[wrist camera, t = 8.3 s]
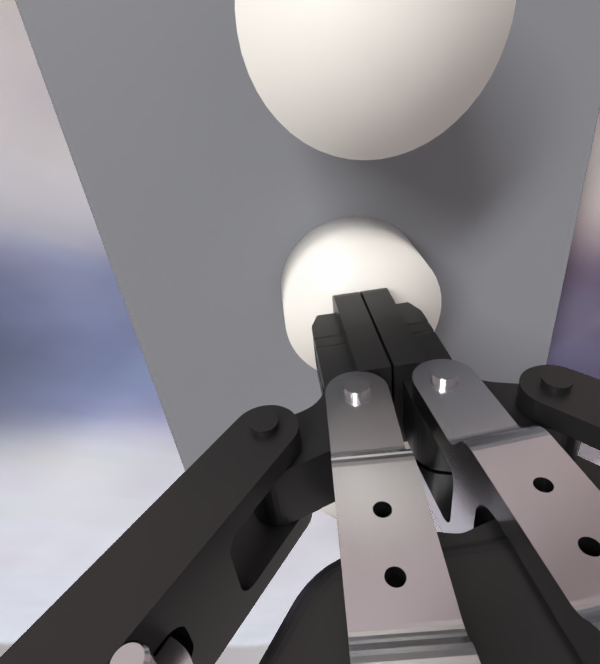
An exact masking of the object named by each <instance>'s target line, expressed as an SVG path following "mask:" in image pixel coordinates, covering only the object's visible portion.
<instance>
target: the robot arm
mask: <svg viewBox="0 0 600 664" xmlns="http://www.w3.org/2000/svg"><path fill="white" fill-rule="evenodd" d="M332 301H333V313H331V314H324V315H317V316H316V319H315V321H314V323H313V325H312V335H313V343H314V351H315V360H316V368H317V374H318V379H319V383H320V389H321V393H322V396H321V398H320V399H319V400H318V401H317V402H316V403H315V404H314V405H313V406H311V407H309V408H308V409H306V410H304V411H301V412H299V413H296V414H294V413H293V412H292V411H291V410H289V409H287V408H285V407H282V406H278V405H264V406H259V407H256V408H253V409H251V410H249V411H247V412H245V413H244V414H242V415H241V416H240V417H239V418H238V419H237V420H236V421H235V422H234V423H233V424H232V425H231V426H230V427H229V428H228V429H227V430H226V431H225V432H224V433H223V434H222V435H221V436H220V437H219V438H218V439H217V440H216V441H215V442H214V443H213V444H212V445H211V446H210V447H209V448H208V449H207V450H206V451H205V452H204V453H203V454H202V455H201V456H200V457H199V458H198V459H197V460H196V461H195V462H194V463H193V464H192V465H191V466H190V467H189V468H188V469H187V470H186V471H185V472H184V473H183V474H182V475H181V476H180V477H179V478H178V479H177V480H176V481H175V482H174V483H173V484H172V485H171V486H170V487H169V488H168V489H167V490H166V491H165V492H164V493H163V494H162V495H161V496H160V497H159V498H158V499H157V500H156V501H155V502H154V503H153V504H152V505H151V506H150V507H149V508H148V509H147V510H146V511H145V512H144V513H143V514H142V515H141V516H140V517H139V518H138V519H137V520H136V521H135V522H134V523H133V524H132V525H131V526H130V527H129V528H128V529H127V530H126V531H125V532H124V533H123V534H122V536H121V537H120V538H119V539H118V540H117V541H116V542H115V543H114V544H113V545H112V546H111V547H110V548H109V549H108V550H107V551H106V552H105V553H104V554H103V555H102V556H101V557H100V558H99V559H98V560H97V561H96V562H95V563H94V564H93V565H92V566H91V567H90V568H89V569H88V570H87V571H86V572H85V573H84V574H83V575H82V576H81V577H80V578H79V579H78V580H77V581H76V582H75V583H74V584H73V585H72V586H71V587H70V588H69V589H68V590H67V591H66V592H65V593H64V594H63V595H62V596H61V597H60V598H59V599H58V600H57V601H56V602H55V603H54V604H53V605H52V606H51V607H50V608H49V609H48V610H47V611H46V612H45V613H44V614H43V615H42V616H41V617H40V618H39V619H38V620H37V621H36V622H35V623H34V624H33V625H32V626H31V627H30V628H29V629H28V630H27V631H26V632H25V633H24V634H23V635H22V636H21V637H20V638H19V639H18V640H17V641H16V642H15V643H14V644H13V645H12V646H11V647H10V648H9V649H8V650H7V651H6V652H5V653H4V654H3V655H2V656H1V657H0V664H215V662H216V661H217V660H218V658H219V657H220V655H221V653H222V652H223V651H224V649H225V648H226V646H227V645H228V643H229V642H230V640H231V639H232V637H233V636H234V634H235V633H236V631H237V630H238V628H239V627H240V625H241V624H242V623H243V621H244V620H245V618H246V617H247V615H248V614H249V612H250V611H251V609H252V608H253V606H254V605H255V603H256V602H257V600H258V599H259V597H260V596H261V594H262V593H263V591H264V590H265V588H266V587H267V585H268V584H269V582H270V581H271V579H272V578H273V577H274V575H275V574H276V572H277V571H278V569H279V568H280V566H281V565H282V563H283V562H284V560H285V559H286V557H287V556H288V554H289V553H290V551H291V550H292V548H293V547H294V545H295V544H296V542H297V541H298V539H299V538H300V536H301V535H302V533H303V532H304V531H305V529H306V528H307V526H308V524H309V523H310V520H311V517H312V513H313V512H315V511H317V510H319V509H321V508H323V507H325V506H327V505H329V504H331V503H333V502H335V504H336V515H337V525H338V536H339V546H340V557H341V558H340V559H338V560H337V561H335V562H333V563H332V564H330V565H328V566H327V567H325V568H324V569H323V570H322V571H320V572H319V573H318V574H317V575H315V576H314V578H313V579H312V580H311V581H310V582H309V583H308V584H307V585H306V586H305V587H304V589H303V590H302V591H301V592H300V594H299V595H298V596H297V598H296V600H295V601H294V603H293V605H292V606H291V608H290V610H289V612H288V613H287V615H286V617H285V619H284V620H283V622H282V624H281V626H280V628H279V629H278V631H277V633H276V635H275V636H274V638H273V640H272V642H271V643H270V645H269V647H268V649H267V650H266V652H265V654H264V656H263V657H262V659H261V661H260V663H259V664H600V466H598V465H596V464H594V463H592V462H590V461H588V460H585V459H583V458H581V457H579V456H577V454H578V451H579V447H580V444H581V442H583V443H585V444H587V445H589V446H592V447H594V448H596V449H598V450H600V380H599V379H596V378H593V377H591V376H588V375H585V374H582V373H580V372H577V371H574V370H571V369H568V368H565V367H561V366H555V365H539V366H534V367H531V368H529V369H527V370H525V371H524V372H523V373H522V374H521V376H520V378H519V384H515V383H500V382H489V381H484V380H481V379H480V378H479V376H478V375H477V374H476V373H475V372H474V371H473V369H472V368H470V367H469V366H467V365H465V364H464V363H461V362H458V361H455V360H452V358H451V357H450V355H449V354H448V352H447V350H446V349H445V347H444V346H443V344H442V342H441V341H440V339H439V338H438V336H437V334H436V333H435V332H434V330H433V328H432V326H431V325H430V323H428V320H427V318H426V317H425V315H424V314H423V312H422V311H421V310H420V309H418V308H417V307H415V306H413V305H412V304H410V303H409V302H406V303H399V304H396V303H395V301H394V299H393V298H392V296H391V294H390V292H389V290H388V289H387V288H380V289H373V290H366V291H360V293H359V292H353V293H346V294H339V295H333V296H332ZM407 441H408V444H409V446H410V449H406V448H405V445H404V442H407ZM429 506H430V508H431V510H432V513H433V515H434V517H435V519H436V521H437V523H438V525H439V527H440V529H441V531H442V532H436V528H435V525H434V521H433V518H432V514H431V511H430V508H429Z"/></svg>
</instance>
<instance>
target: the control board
mask: <svg viewBox="0 0 600 664" xmlns="http://www.w3.org/2000/svg"><path fill="white" fill-rule="evenodd" d="M15 1H16V4H17V7H18V10H19V12H20V15H21V18H22V21H23V23H24V26H25V29H26V32H27V35H28V37H29V40H30V43H31V46H32V48H33V51H34V54H35V57H36V59H37V62H38V65H39V68H40V70H41V73H42V76H43V79H44V82H45V84H46V87H47V90H48V93H49V95H50V98H51V101H52V104H53V106H54V109H55V112H56V115H57V117H58V120H59V123H60V126H61V129H62V131H63V134H64V137H65V140H66V142H67V145H68V148H69V151H70V153H71V156H72V159H73V162H74V165H75V167H76V170H77V173H78V176H79V178H80V181H81V184H82V187H83V189H84V192H85V195H86V198H87V200H88V203H89V206H90V209H91V212H92V214H93V217H94V220H95V223H96V225H97V228H98V231H99V234H100V236H101V239H102V242H103V245H104V248H105V250H106V253H107V256H108V259H109V261H110V264H111V267H112V270H113V272H114V275H115V278H116V281H117V283H118V286H119V289H120V292H121V295H122V297H123V300H124V303H125V306H126V308H127V311H128V314H129V317H130V319H131V322H132V325H133V328H134V330H135V333H136V336H137V339H138V342H139V344H140V347H141V350H142V353H143V355H144V358H145V361H146V364H147V366H148V369H149V372H150V375H151V378H152V380H153V383H154V386H155V389H156V391H157V394H158V397H159V400H160V402H161V405H162V408H163V411H164V413H165V416H166V419H167V422H168V425H169V427H170V430H171V433H172V436H173V438H174V441H175V444H176V447H177V449H178V452H179V455H180V458H181V460H182V463H183V466H184V469H185V471H186V470H187V469H188V468H189V467H190V466H191V465H192V464H193V463H194V462H195V461H196V460H197V459H198V458H199V457H200V456H201V455H202V454H203V453H204V452H205V451H206V450H207V449H208V448H209V447H210V446H211V445H212V444H213V443H214V442H215V441H216V440H217V439H218V438H219V437H220V436H221V435H222V434H223V433H224V432H225V431H226V430H227V429H228V428H229V427H230V426H231V425H232V424H233V423H234V422H235V421H236V420H237V419H238V418H239V417H240V416H241V415H242V414H244V413H245V412H247V411H249V410H251V409H253V408H256V407H259V406H264V405H278V406H282V407H285V408H287V409H289V410H291V411H292V412H293V413H294V414H296V413H299V412H301V411H304V410H306V409H308V408H309V407H311V406H313V405H314V404H315V403H316V402H317V401H318V400H319V399H320V398H321V396H322V393H321V389H320V383H319V379H318V374H317V370H316V369H314V368H312V367H311V366H309V365H308V364H307V363H306V362H304V361H303V360H302V359H301V358H300V357H299V355H298V354H297V353H296V352H295V350H294V348H293V347H292V345H291V343H290V341H289V338H288V335H287V331H286V326H285V318H284V310H283V302H282V293H281V278H282V273H283V269H284V266H285V263H286V260H287V259H288V257H289V255H290V253H291V251H292V250H293V249H294V247H295V246H296V245H297V243H298V242H299V241H300V240H301V239H302V238H303V237H304V236H305V235H307V234H308V233H309V232H310V231H312V230H313V229H315V228H316V227H318V226H320V225H322V224H324V223H326V222H329V221H331V220H334V219H338V218H342V217H348V216H367V217H372V218H377V219H380V220H383V221H385V222H387V223H389V224H391V225H393V226H394V227H396V228H397V229H399V230H400V231H401V232H402V233H403V234H404V235H405V236H406V237H407V238H408V239H409V241H410V242H411V243H412V245H413V246H414V247H415V249H416V250H417V251H418V253H419V254H420V255H421V256H422V258H423V259H424V260H425V262H426V263H427V264H428V266H429V267H430V268H431V270H432V271H433V273H434V275H435V276H436V278H437V281H438V284H439V286H440V291H441V304H442V305H441V313H440V317H439V321H438V324H437V326H436V329H435V331H434V332H435V333H436V334H437V336H438V338H439V339H440V341H441V342H442V344H443V346H444V347H445V349H446V350H447V352H448V354H449V355H450V357H451V358H452V360H455V361H458V362H461V363H464V364H465V365H467V366H469V367H470V368H472V369H473V371H474V372H475V373H476V374H477V375H478V376H479V378H480V379H481V380H484V381H489V382H500V383H515V384H519V378H520V376H521V374H522V373H523V372H524V371H525V370H527V369H529V368H531V367H534V366H539V365H546V363H547V358H548V353H549V349H550V344H551V339H552V334H553V329H554V325H555V320H556V315H557V310H558V305H559V300H560V296H561V291H562V286H563V281H564V276H565V272H566V267H567V262H568V257H569V252H570V248H571V243H572V238H573V233H574V228H575V224H576V219H577V214H578V209H579V204H580V200H581V195H582V190H583V185H584V180H585V175H586V171H587V166H588V161H589V156H590V151H591V147H592V142H593V137H594V132H595V127H596V123H597V118H598V113H599V108H600V0H516V5H515V11H514V17H513V21H512V24H511V28H510V32H509V36H508V39H507V41H506V44H505V47H504V49H503V52H502V55H501V57H500V59H499V61H498V64H497V66H496V68H495V70H494V72H493V74H492V76H491V77H490V79H489V81H488V82H487V84H486V85H485V87H484V89H483V90H482V92H481V93H480V95H479V96H478V97H477V98H476V100H475V101H474V102H473V104H472V105H471V106H470V107H469V109H468V110H467V111H466V112H465V113H464V114H463V115H462V116H461V117H460V118H459V119H458V120H457V121H456V122H455V123H454V124H453V125H451V126H450V127H449V128H448V129H447V130H445V131H444V132H443V133H442V134H440V135H439V136H437V137H436V138H434V139H433V140H431V141H430V142H428V143H426V144H424V145H422V146H420V147H418V148H416V149H414V150H412V151H409V152H406V153H404V154H401V155H398V156H394V157H389V158H384V159H377V160H352V159H345V158H340V157H336V156H332V155H329V154H327V153H324V152H321V151H319V150H317V149H315V148H313V147H311V146H309V145H307V144H305V143H304V142H302V141H301V140H300V139H298V138H297V137H295V136H294V135H293V134H291V133H290V132H289V131H288V130H287V129H286V128H285V127H284V126H283V125H282V124H281V123H279V122H278V120H277V119H276V118H275V117H274V116H273V114H272V113H271V112H270V111H269V109H268V108H267V107H266V105H265V104H264V102H263V100H262V99H261V97H260V96H259V94H258V92H257V91H256V89H255V87H254V84H253V82H252V80H251V78H250V76H249V74H248V71H247V68H246V65H245V62H244V59H243V56H242V53H241V48H240V44H239V39H238V35H237V27H236V17H235V0H15Z"/></svg>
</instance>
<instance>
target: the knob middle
mask: <svg viewBox="0 0 600 664" xmlns="http://www.w3.org/2000/svg"><path fill="white" fill-rule="evenodd" d="M380 288H387V289H388V290H389V292H390V294H391V296H392V298H393V299H394V301H395V303H396V304H399V303H406V302H409V303H410V304H412V305H413V306H415V307H417V308H418V309H420V310H421V311H422V312H423V314H424V315H425V317H426V318H427V320H428V323H430V325H431V326H432V328H433V330H434V331H435V329H436V326H437V324H438V321H439V317H440V313H441V305H442V304H441V291H440V286H439V284H438V281H437V278H436V276H435V275H434V273H433V271H432V270H431V268H430V267H429V266H428V264H427V263H426V262H425V260H424V259H423V258H422V256H421V255H420V254H419V253H418V251H417V250H416V249H415V247H414V246H413V245H412V243H411V242H410V241H409V239H408V238H407V237H406V236H405V235H404V234H403V233H402V232H401V231H400V230H399V229H397V228H396V227H394V226H393V225H391V224H389V223H387V222H385V221H383V220H380V219H377V218H372V217H367V216H348V217H342V218H338V219H334V220H331V221H329V222H326V223H324V224H322V225H320V226H318V227H316V228H315V229H313V230H312V231H310V232H309V233H308V234H307V235H305V236H304V237H303V238H302V239H301V240H300V241H299V242H298V243H297V245H296V246H295V247H294V249H293V250H292V251H291V253H290V255H289V257H288V259H287V260H286V263H285V266H284V269H283V273H282V278H281V293H282V302H283V310H284V318H285V326H286V331H287V335H288V338H289V341H290V343H291V345H292V347H293V348H294V350H295V352H296V353H297V354H298V355H299V357H300V358H301V359H302V360H303V361H304V362H306V363H307V364H308V365H309V366H311V367H312V368H314V369H316V370H317V368H316V360H315V351H314V343H313V335H312V325H313V323H314V321H315V319H316V316H317V315H324V314H331V313H333V301H332V296H333V295H339V294H346V293H353V292H359V293H360V291H366V290H373V289H380Z"/></svg>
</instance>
